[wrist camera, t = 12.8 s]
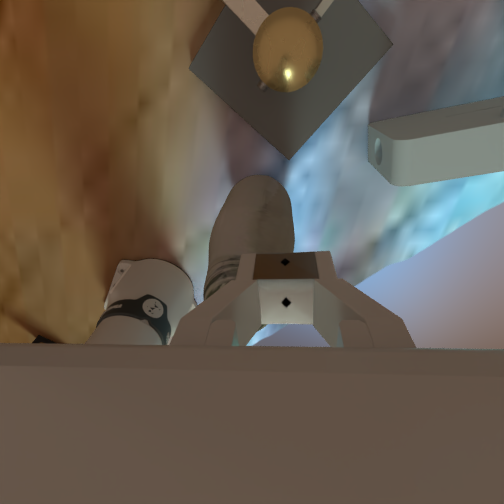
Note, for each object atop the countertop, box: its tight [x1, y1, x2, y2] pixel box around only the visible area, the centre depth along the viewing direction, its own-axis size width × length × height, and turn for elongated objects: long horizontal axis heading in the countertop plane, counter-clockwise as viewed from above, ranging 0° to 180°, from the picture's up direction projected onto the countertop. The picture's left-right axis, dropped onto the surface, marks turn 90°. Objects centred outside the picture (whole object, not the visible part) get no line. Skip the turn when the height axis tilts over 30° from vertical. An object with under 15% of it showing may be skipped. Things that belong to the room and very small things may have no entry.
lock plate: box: [189, 0, 393, 160], centre depth 35 cm, size 18×18×6 cm
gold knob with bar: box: [222, 0, 323, 93], centre depth 29 cm, size 18×9×4 cm, turn 50°
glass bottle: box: [203, 175, 295, 331], centre depth 36 cm, size 10×10×28 cm
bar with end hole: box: [368, 96, 504, 186], centre depth 34 cm, size 23×6×13 cm, turn 102°
